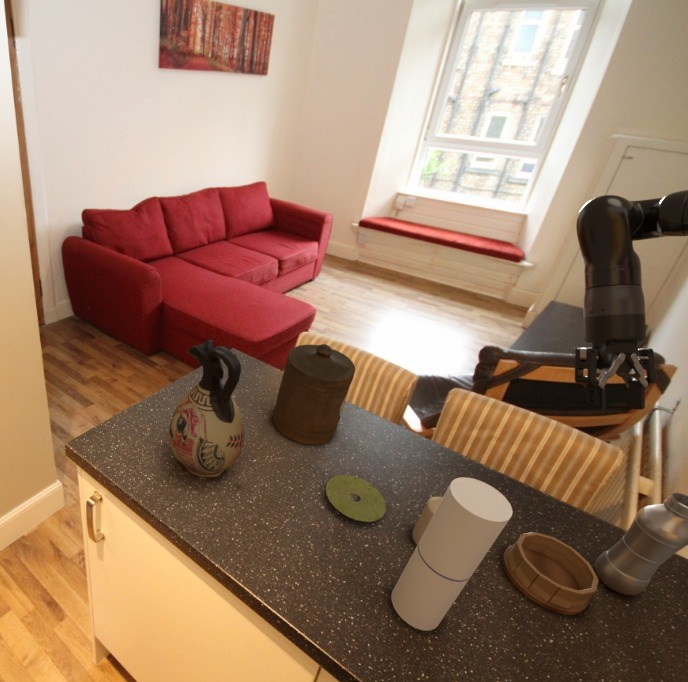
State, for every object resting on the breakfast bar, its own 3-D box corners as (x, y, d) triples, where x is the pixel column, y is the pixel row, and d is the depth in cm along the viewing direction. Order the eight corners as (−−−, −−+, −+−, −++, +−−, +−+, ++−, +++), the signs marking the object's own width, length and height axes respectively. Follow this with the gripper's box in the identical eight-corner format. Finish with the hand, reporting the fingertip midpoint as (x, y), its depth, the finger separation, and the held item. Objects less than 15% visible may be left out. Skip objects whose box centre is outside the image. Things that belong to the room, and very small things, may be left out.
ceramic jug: (151, 454, 95) (158, 332, 80) (206, 428, 104) (222, 313, 89) (202, 509, 84) (221, 378, 69) (259, 475, 92) (287, 352, 77)
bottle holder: (567, 560, 80) (582, 542, 77) (600, 626, 70) (618, 608, 67) (493, 539, 83) (504, 521, 80) (514, 599, 73) (528, 581, 70)
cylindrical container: (392, 619, 68) (454, 510, 56) (390, 578, 74) (446, 470, 62) (443, 638, 67) (519, 529, 54) (436, 594, 72) (504, 487, 60)
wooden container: (347, 439, 104) (375, 359, 93) (293, 450, 99) (315, 368, 88) (311, 400, 116) (332, 326, 105) (261, 409, 111) (277, 332, 100)
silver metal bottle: (587, 581, 76) (659, 501, 66) (590, 556, 81) (657, 478, 71) (637, 608, 73) (720, 528, 63) (637, 581, 77) (714, 502, 67)
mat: (358, 476, 94) (360, 470, 93) (396, 520, 85) (399, 513, 84) (312, 487, 90) (314, 480, 89) (347, 534, 81) (349, 527, 80)
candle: (407, 525, 84) (426, 488, 79) (437, 530, 83) (458, 493, 78) (417, 551, 79) (437, 514, 74) (449, 557, 79) (472, 519, 74)
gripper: (606, 310, 71) (609, 413, 70) (672, 313, 74) (676, 411, 73) (557, 315, 78) (559, 408, 78) (619, 317, 81) (622, 406, 81)
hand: (616, 409), depth 75 cm, fingers open, 8 cm apart
